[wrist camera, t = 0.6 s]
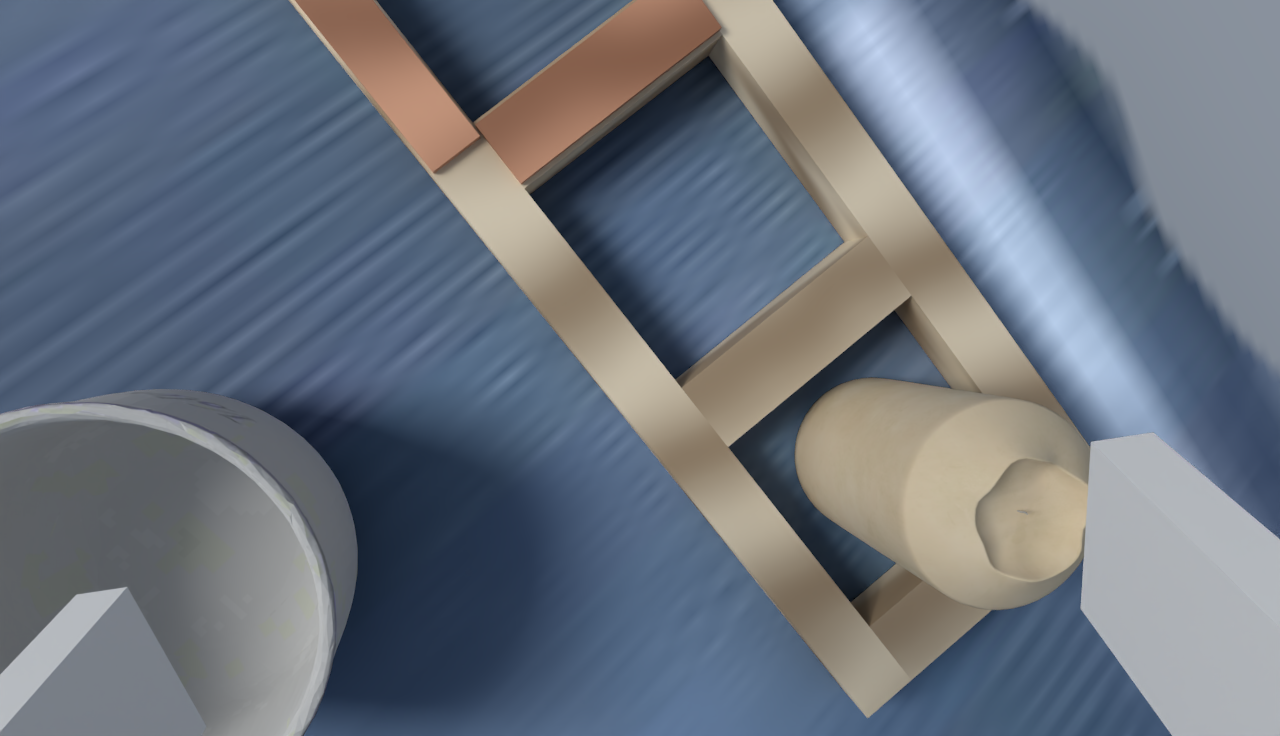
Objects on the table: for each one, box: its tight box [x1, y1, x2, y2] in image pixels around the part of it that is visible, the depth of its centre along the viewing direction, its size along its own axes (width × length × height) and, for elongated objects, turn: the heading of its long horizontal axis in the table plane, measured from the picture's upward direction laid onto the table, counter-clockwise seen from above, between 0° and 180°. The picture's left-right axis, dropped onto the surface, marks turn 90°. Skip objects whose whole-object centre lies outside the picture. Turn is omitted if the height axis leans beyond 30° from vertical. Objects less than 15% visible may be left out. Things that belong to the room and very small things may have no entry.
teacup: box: [0, 389, 358, 736], centre depth 22 cm, size 14×11×8 cm
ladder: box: [289, 0, 1091, 718], centre depth 26 cm, size 34×12×2 cm, turn 38°
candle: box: [795, 378, 1090, 610], centre depth 24 cm, size 6×6×10 cm
